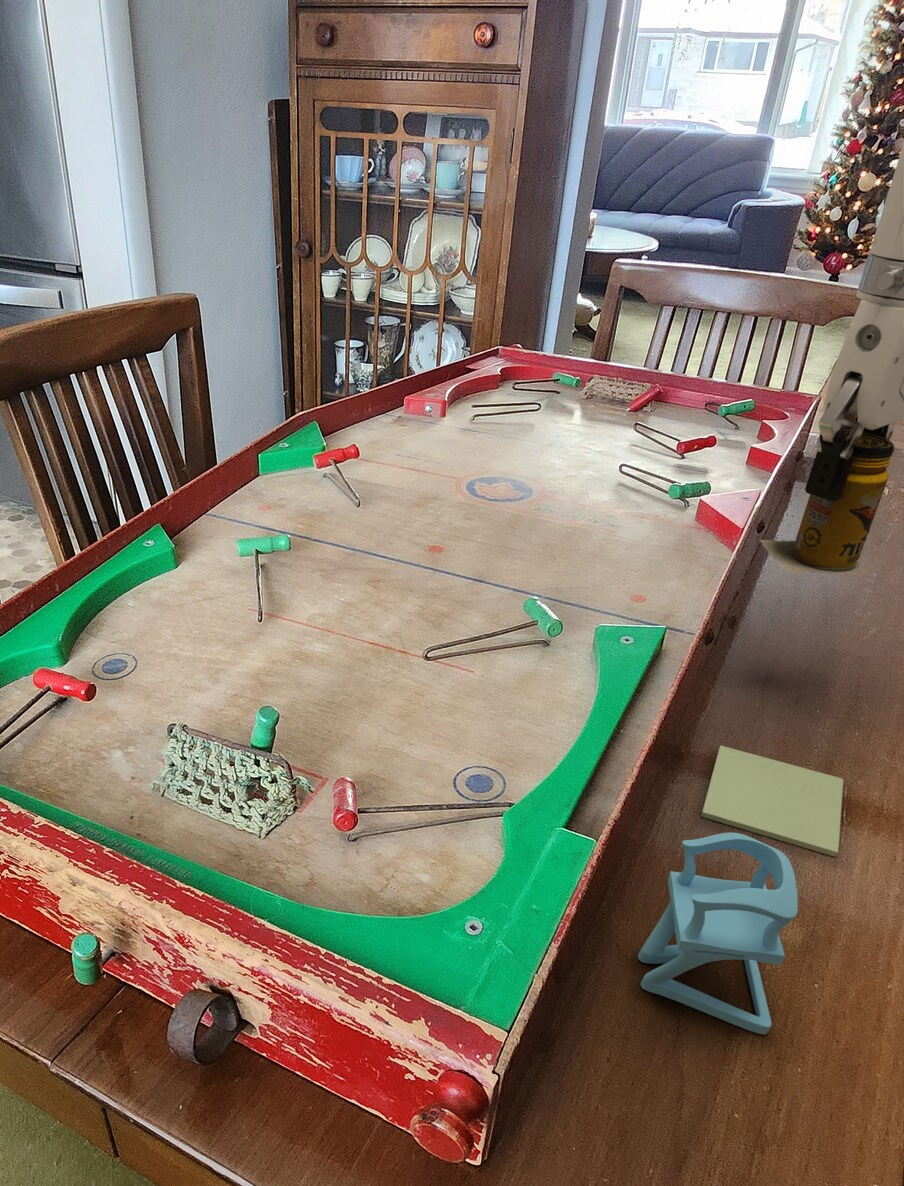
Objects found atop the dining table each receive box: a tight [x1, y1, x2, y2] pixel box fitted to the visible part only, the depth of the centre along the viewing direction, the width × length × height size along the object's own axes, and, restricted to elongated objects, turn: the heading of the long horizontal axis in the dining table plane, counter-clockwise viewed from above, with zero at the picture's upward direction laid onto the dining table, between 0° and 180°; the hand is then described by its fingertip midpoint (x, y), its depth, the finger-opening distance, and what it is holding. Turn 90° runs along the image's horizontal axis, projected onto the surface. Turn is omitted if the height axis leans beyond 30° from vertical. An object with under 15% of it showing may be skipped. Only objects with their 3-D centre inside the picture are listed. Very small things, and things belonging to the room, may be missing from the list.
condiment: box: [759, 431, 895, 576], centre depth 87 cm, size 7×8×12 cm
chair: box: [637, 832, 799, 1036], centre depth 61 cm, size 8×8×12 cm
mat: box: [700, 745, 844, 858], centre depth 81 cm, size 11×11×1 cm
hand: (839, 486), depth 86 cm, fingers closed on condiment, 6 cm apart
